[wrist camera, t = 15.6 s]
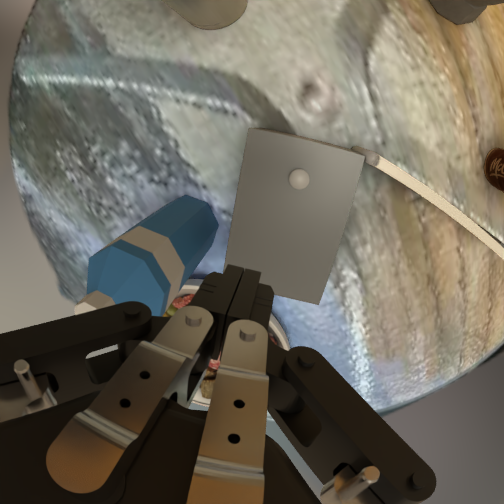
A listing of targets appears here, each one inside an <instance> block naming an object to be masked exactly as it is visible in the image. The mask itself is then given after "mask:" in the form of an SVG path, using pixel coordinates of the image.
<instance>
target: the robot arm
mask: <svg viewBox="0 0 504 504" xmlns="http://www.w3.org/2000/svg"><path fill="white" fill-rule="evenodd" d="M161 1H163V2H164V3H165V4H167V5H168V6H169V7H171V8H172V9H173V10H175V11H176V12H177V13H178V14H180V15H181V16H182V17H183V18H185V19H186V20H187V21H188V22H190V23H191V24H192V25H194V26H196V27H198V28H201V29H207V30H212V29H219V28H223V27H225V26H228V25H230V24H232V23H233V22H235V21H236V20H237V19H238V18H240V16H241V15H242V14H243V13H244V11H245V9H246V6H247V0H161ZM261 273H262V272H260V271H256V270H251V269H247V268H245V271H244V268H243V267H239V266H235V265H231V264H228V265H227V267H226V269H225V271H224V273H223V274H221V273H217V272H212V273H211V274H209V275H207V276H206V277H205V278H204V280H203V282H202V284H201V285H200V287H199V289H198V290H197V292H196V293H195V295H194V297H193V298H192V300H191V302H190V303H189V305H188V306H185V307H182V308H180V309H178V310H177V311H176V312H175V313H174V315H173V316H170V317H162V316H152V312H151V309H150V308H149V307H148V306H147V305H146V304H144V303H141V302H137V301H127V302H123V303H119V304H115V305H112V306H108V307H104V308H100V309H96V310H93V311H89V312H85V313H81V314H77V315H74V316H70V317H66V318H62V319H58V320H54V321H50V322H46V323H42V324H39V325H34V326H30V327H27V328H22V329H18V330H14V331H10V332H6V333H2V334H0V504H322V503H323V504H419V503H421V502H422V501H424V500H426V499H427V498H429V497H430V496H431V495H432V493H433V492H434V490H435V487H436V477H435V474H434V472H433V470H432V469H431V468H430V467H429V466H428V465H427V464H426V463H425V462H424V461H423V460H422V459H421V458H420V457H419V456H418V455H417V454H416V453H415V452H414V451H413V450H412V449H411V448H410V447H409V446H408V444H407V443H405V441H403V439H402V438H401V437H399V435H398V434H397V433H396V432H395V431H394V430H393V429H392V428H391V427H390V426H389V425H388V424H387V423H386V422H385V421H384V420H383V419H382V418H381V417H380V416H379V415H378V414H377V413H376V412H375V411H374V410H373V409H372V407H371V406H370V405H369V404H368V403H367V402H366V401H365V400H364V399H363V398H362V397H361V396H360V395H359V394H358V393H357V392H356V391H355V390H354V389H353V388H352V387H351V386H350V384H349V383H348V382H347V381H346V380H345V379H344V378H343V377H342V376H341V375H340V374H339V373H338V372H337V371H336V370H335V369H334V368H333V367H332V365H331V364H330V363H329V362H328V361H327V360H326V359H325V358H324V357H323V356H322V355H321V354H320V353H319V352H317V351H316V350H314V349H312V348H309V347H304V346H298V347H294V348H291V349H290V350H289V351H287V350H285V349H283V348H281V347H279V346H277V345H276V344H275V343H274V342H273V341H272V340H271V339H270V337H269V335H268V326H269V321H270V315H271V310H272V304H273V298H274V291H273V289H272V287H271V286H270V285H266V284H262V283H259V282H260V277H261ZM116 344H117V345H118V349H117V350H114V351H111V352H107V353H104V354H101V355H98V356H95V357H91V358H88V359H85V358H86V356H87V355H88V354H89V353H91V352H93V351H97V350H100V349H103V348H106V347H109V346H113V345H116ZM220 352H221V353H220ZM219 355H220V359H219V361H220V365H219V367H218V371H217V375H216V379H215V384H214V388H213V392H212V397H211V401H210V405H209V409H208V411H201V410H191V409H188V408H189V406H190V404H191V402H192V400H193V398H194V396H195V394H196V392H197V390H198V388H199V386H200V384H201V382H202V380H203V378H204V376H205V374H206V370H207V367H208V366H209V363H210V360H211V359H213V360H218V358H219ZM267 409H268V412H269V413H270V415H271V416H272V418H273V419H274V420H275V422H276V423H277V424H278V426H279V427H280V429H281V430H282V431H283V433H284V434H285V436H286V437H287V438H288V440H289V441H290V442H291V444H292V445H293V446H294V447H295V449H296V450H297V452H298V453H299V454H300V456H301V457H302V458H303V460H304V461H305V462H306V463H307V465H308V466H309V467H310V469H311V470H312V471H313V472H314V474H315V475H316V476H317V477H318V478H319V480H320V481H321V482H322V484H323V485H324V486H323V488H322V490H321V494H320V497H321V502H322V503H321V502H320V501H319V499H318V498H317V497H316V495H315V494H314V493H313V491H312V490H311V488H310V487H309V486H308V484H307V483H306V481H305V480H304V479H303V477H302V476H301V474H300V473H299V472H298V470H297V469H296V467H295V466H294V464H293V463H292V462H291V460H290V459H289V457H288V456H287V454H286V453H285V451H284V450H283V449H282V448H281V447H280V446H279V444H278V443H276V442H275V441H274V440H273V439H272V438H270V437H269V436H268V435H266V434H265V433H266V418H267Z"/></svg>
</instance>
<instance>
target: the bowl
mask: <svg viewBox="0 0 504 504" xmlns="http://www.w3.org/2000/svg"><path fill="white" fill-rule="evenodd" d="M202 282H203V279H188V280H187V281H186V283H185V284H184V286H183V287H182V288H181V290H180V291H179V293H178V294H177V296H176V297H175V299H174V300H173V301H172V303H171V304H170V306H169V307H168V309H167V310H166V312H165V313H164V315H163V316H162V317H170V316H173V315H174V313H175V312H176V311H177V310H178V309H180V308H182V307H185V306H188V305H189V303H190V302H191V300H192V298H193V297H194V295H195V293H196V292H197V290H198V289H199V287H200V285H201V284H202ZM268 335H269V337H270V339H271V340H272V341H273V342H274V343H275V344H276V345H277V346H279V347H281V348H283V349H285V350H287V351H289V350H290V346H289V342H288V339H287V337H286V334H285V332H284V330H283V329H282V327H281V325H280V324H279V322H278V321H277V320H276V318H275V317H274V316H273V315H272V314H271V315H270V321H269V326H268ZM220 353H221V352H220ZM219 359H220V355H219V358H218V360H213V359H211V360H210V363H209V366H208V367H207V370H206V374H205V376H204V378H203V380H202V382H201V384H200V386H199V388H198V390H197V392H196V394H195V396H194V398H193V400H192V402H193V403H196V404H199V405H203V406H207V407H209V405H210V401H211V397H212V392H213V388H214V384H215V379H216V375H217V371H218V367H219V365H220V361H219Z"/></svg>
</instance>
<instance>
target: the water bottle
mask: <svg viewBox="0 0 504 504" xmlns="http://www.w3.org/2000/svg"><path fill="white" fill-rule="evenodd" d="M218 225H219V224H218V222H217V220H216V218H215V216H214V214H213V212H212V210H211V208H210V206H209V204H208V203H206V202H204V201H201V200H198V199H196V198H193V197H190V196H188V195H184V196H182V197H180V198H178V199H176V200H174V201H173V202H171V203H169V204H167V205H165V206H164V207H162V208H161V209H159V210H158V211H156V212H155V213H153V214H151V215H150V216H148V217H147V218H145V219H144V220H142V221H141V222H140V223H138V224H137V225H135V226H134V227H132V228H131V229H129V230H128V231H126V232H125V233H124V234H122V235H121V236H119V237H118V238H116V239H115V240H114V241H112V242H111V243H109V244H108V245H107V246H105V247H104V248H102V249H101V250H100V251H98V252H97V253H96V254H94V255H93V256H92V257H90V258H89V265H88V280H87V295H86V296H85V297H84V298H83V299H82V300H81V301H80V302H79V303H77V304H76V305H75V315H77V314H81V313H85V312H89V311H93V310H96V309H100V308H104V307H108V306H112V305H115V304H119V303H123V302H127V301H137V302H141V303H144V304H146V305H147V306H148V307H149V308H150V309H151V312H152V316H163V315H164V313H165V312H166V310H167V309H168V307H169V306H170V304H171V303H172V301H173V300H174V299H175V297H176V296H177V294H178V293H179V291H180V290H181V288H182V287H183V286H184V284H185V283H186V281H187V280H188V278H189V277H190V276H191V274H192V273H193V271H194V270H195V268H196V267H197V266H198V264H199V263H200V261H201V260H202V259H203V257H204V256H205V254H206V253H207V252H208V250H209V249H210V247H211V246H212V244H213V241H214V238H215V234H216V231H217V228H218Z"/></svg>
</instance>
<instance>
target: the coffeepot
mask: <svg viewBox="0 0 504 504" xmlns="http://www.w3.org/2000/svg"><path fill="white" fill-rule="evenodd" d="M429 1H430V3H431V4H432V6H433V7H434V8H435V9H436V11H437V12H438V13H439V14H440V15H442V16H443V17H445V18H446V19H448V20H450V21H451V22H454V23H456V24H457V25H459V24H465V23H471V22H473V21H474V20H475V19H476V18H477V17H478V16H479V15H480V14H481V13H482V12H483V11H484V10H485V9H486V7H487V5H496V4H501V3H504V0H429Z"/></svg>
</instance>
